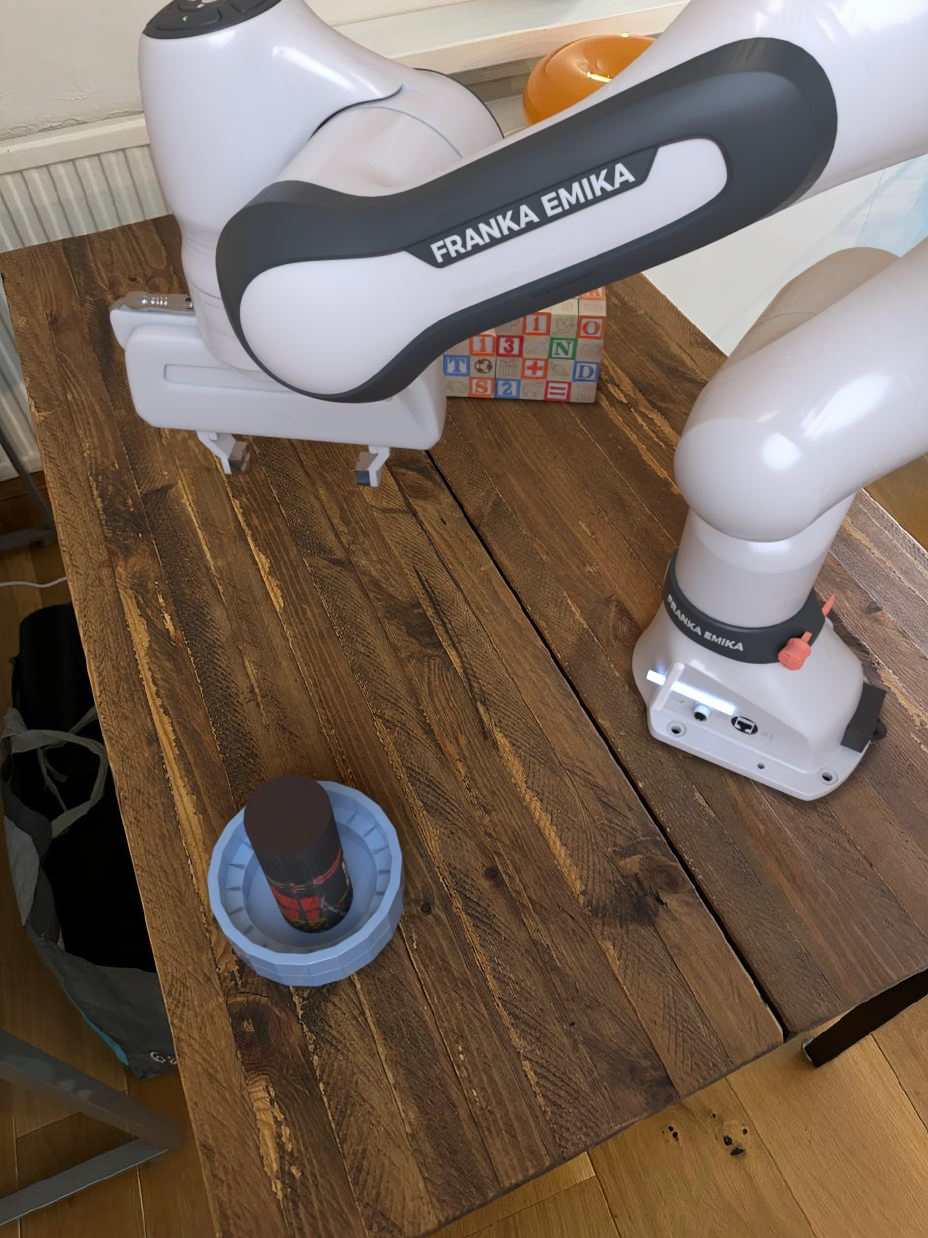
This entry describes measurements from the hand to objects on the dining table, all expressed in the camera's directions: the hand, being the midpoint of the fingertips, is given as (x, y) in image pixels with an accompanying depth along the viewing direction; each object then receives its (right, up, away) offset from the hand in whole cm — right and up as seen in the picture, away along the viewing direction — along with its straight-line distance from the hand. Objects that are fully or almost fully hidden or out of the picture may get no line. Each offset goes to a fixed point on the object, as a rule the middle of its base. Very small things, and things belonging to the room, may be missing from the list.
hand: (304, 474), depth 67 cm
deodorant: (-1, -33, +9) cm, 34 cm away
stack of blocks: (+17, +19, +50) cm, 55 cm away
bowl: (-1, -33, +10) cm, 34 cm away
